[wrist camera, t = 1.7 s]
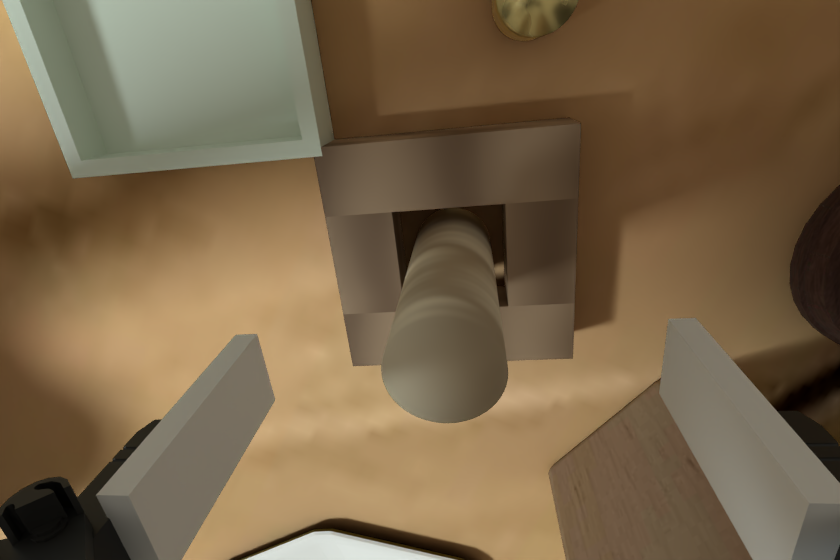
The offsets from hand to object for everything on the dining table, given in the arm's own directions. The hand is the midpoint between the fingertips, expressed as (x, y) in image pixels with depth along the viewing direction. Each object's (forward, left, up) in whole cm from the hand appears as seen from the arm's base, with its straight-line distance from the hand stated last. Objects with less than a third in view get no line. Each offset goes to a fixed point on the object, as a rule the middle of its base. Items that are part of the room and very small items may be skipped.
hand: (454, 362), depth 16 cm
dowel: (0, 0, -11) cm, 11 cm away
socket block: (0, 0, -11) cm, 11 cm away
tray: (-12, +12, -11) cm, 21 cm away
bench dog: (+4, +11, -11) cm, 16 cm away
